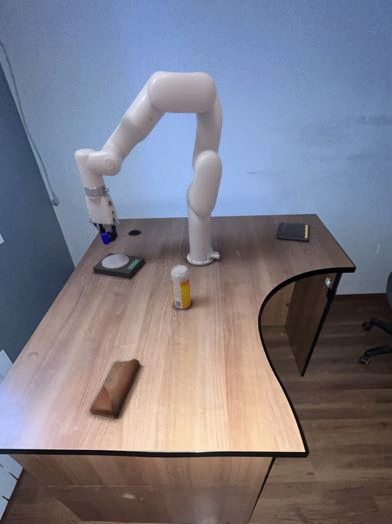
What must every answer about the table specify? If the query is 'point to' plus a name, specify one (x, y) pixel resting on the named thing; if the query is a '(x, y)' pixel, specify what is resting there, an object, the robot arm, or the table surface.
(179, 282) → the pill bottle
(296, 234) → the black flat rectangular slab
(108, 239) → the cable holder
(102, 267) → the scale
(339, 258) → the table surface
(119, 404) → the sunglasses case
